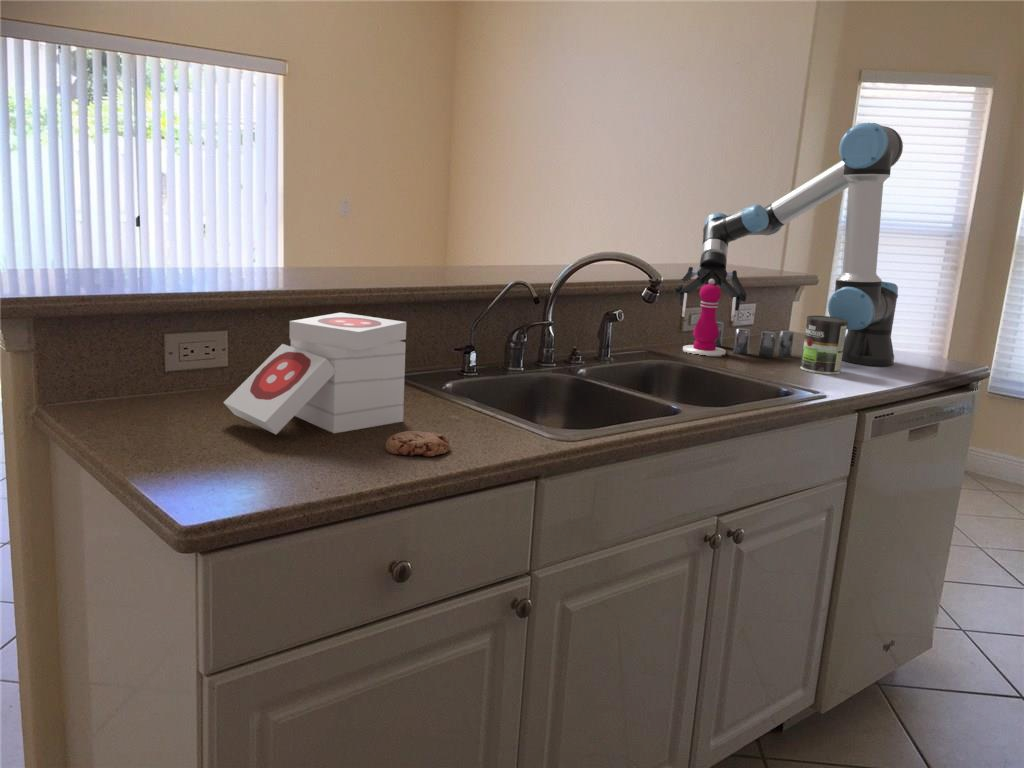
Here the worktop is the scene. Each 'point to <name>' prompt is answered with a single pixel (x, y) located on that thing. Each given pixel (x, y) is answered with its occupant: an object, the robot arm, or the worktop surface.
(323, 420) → the pizza boxes
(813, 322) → the coffee can
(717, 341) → the posts
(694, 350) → the disc
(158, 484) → the worktop surface
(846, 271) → the robot arm
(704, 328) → the pepper mill
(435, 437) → the cookie
